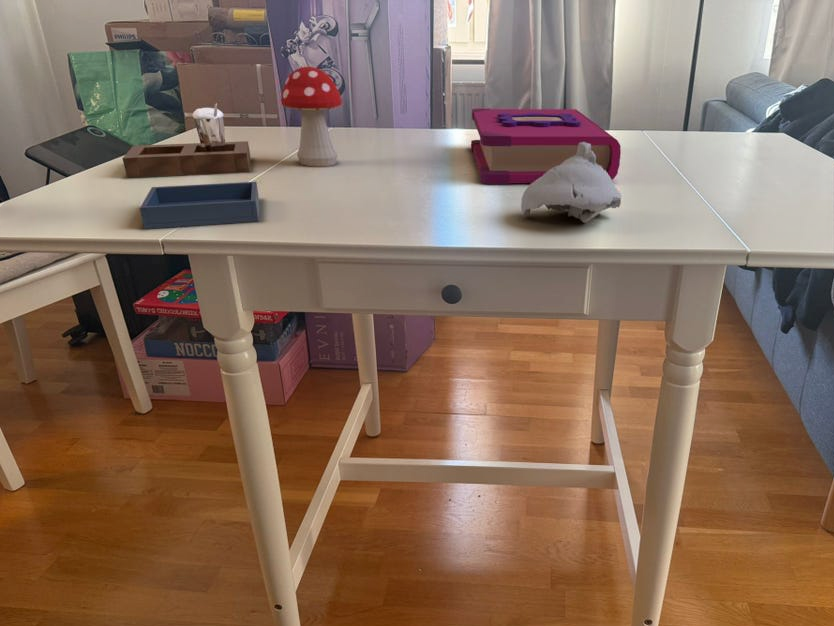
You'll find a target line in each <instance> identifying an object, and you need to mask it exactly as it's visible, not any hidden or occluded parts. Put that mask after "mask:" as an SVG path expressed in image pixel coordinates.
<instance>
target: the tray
mask: <svg viewBox="0 0 834 626" xmlns="http://www.w3.org/2000/svg"><path fill="white" fill-rule="evenodd" d="M139 212H140V215H141V216H140V217H141V219H142V220H141V221H142V224H143V229H144V230H151V229H165V228H166V229H167V228H180V227H181V228H182V227H196V226H197V227H198V226H210V225H224V224H225V225H227V224H238V223H239V224H240V223H254V222H255V223H256V222H259V221H260V196H259V189H258V182H257V181H243V182H224V183H223V182H221V183H205V184H204V183H203V184H184V185H169V186H165V185H164V186H151V187H150V190H149V192H148V193H147V194H146V197H145V198H144V200H143V202H142V203H141V205H140V207H139Z"/></svg>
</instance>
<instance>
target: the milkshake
mask: <svg viewBox="0 0 834 626" xmlns="http://www.w3.org/2000/svg"><path fill="white" fill-rule="evenodd" d="M192 118H193V121H194V126H195V128H196V131H197V136H198V139H199V143H201V147H202V151H203V152H222V151H226V145H225V142H226V135H225V134H226V133H225V117H224V112H222V111H221V110H220V109H218V103H214V106H213V107H202V108H196V109H195V110H194V111H193V113H192Z"/></svg>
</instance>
